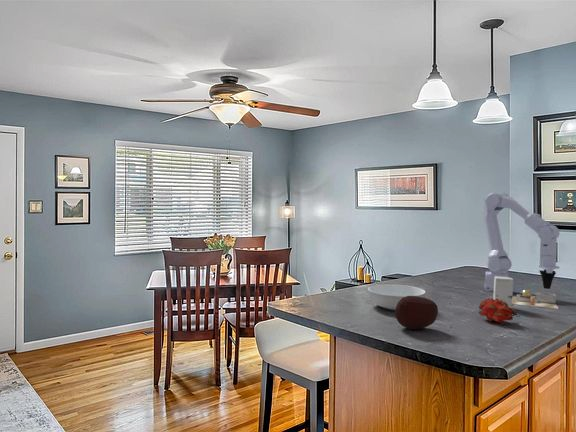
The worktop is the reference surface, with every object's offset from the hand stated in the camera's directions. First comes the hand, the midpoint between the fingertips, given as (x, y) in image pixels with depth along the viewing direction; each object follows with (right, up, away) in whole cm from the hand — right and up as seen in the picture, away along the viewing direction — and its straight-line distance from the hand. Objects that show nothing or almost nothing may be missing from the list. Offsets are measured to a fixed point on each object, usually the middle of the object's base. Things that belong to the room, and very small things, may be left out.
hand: (546, 288), depth 181 cm
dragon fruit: (-36, -6, -32) cm, 49 cm away
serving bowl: (-65, -5, -15) cm, 67 cm away
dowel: (-12, -5, -11) cm, 16 cm away
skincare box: (-26, -6, -16) cm, 31 cm away
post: (-10, -4, -3) cm, 11 cm away
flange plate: (-7, -4, -4) cm, 9 cm away
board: (-9, -5, -5) cm, 12 cm away
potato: (-66, -6, -43) cm, 79 cm away
